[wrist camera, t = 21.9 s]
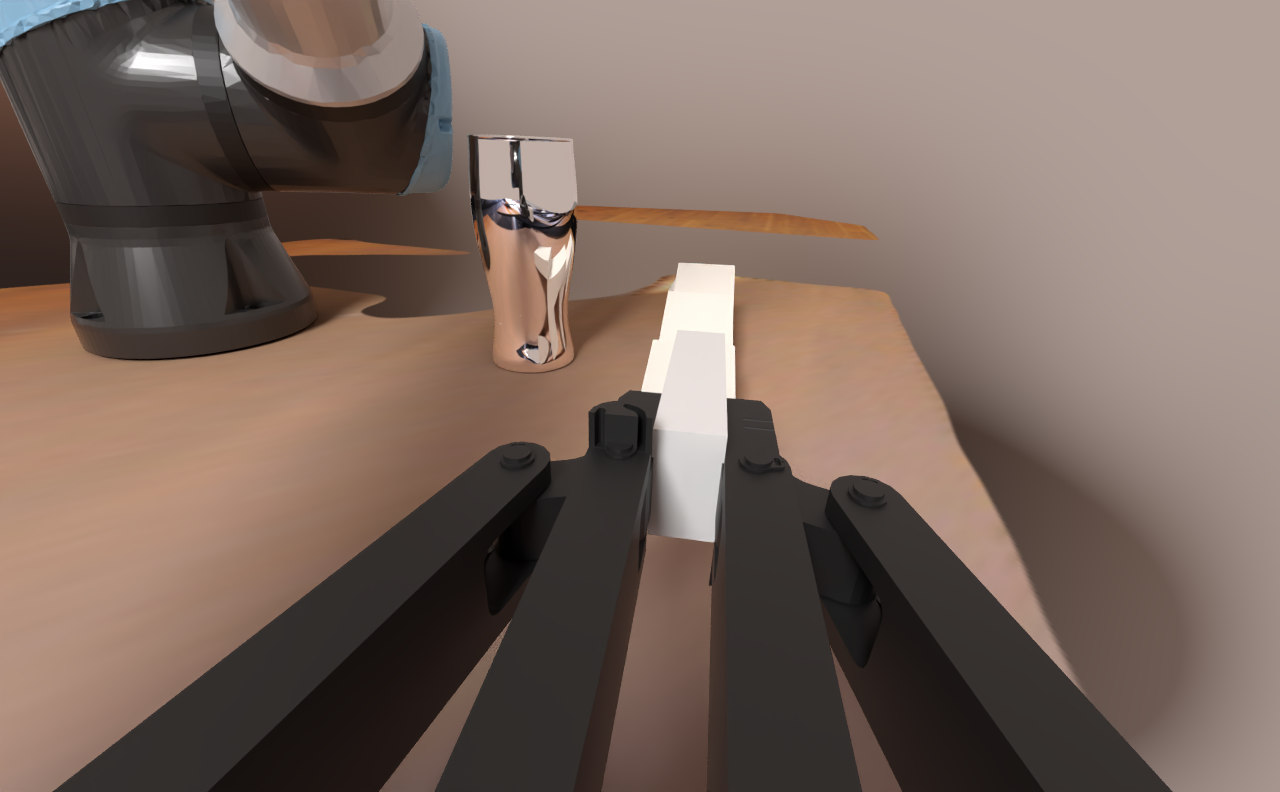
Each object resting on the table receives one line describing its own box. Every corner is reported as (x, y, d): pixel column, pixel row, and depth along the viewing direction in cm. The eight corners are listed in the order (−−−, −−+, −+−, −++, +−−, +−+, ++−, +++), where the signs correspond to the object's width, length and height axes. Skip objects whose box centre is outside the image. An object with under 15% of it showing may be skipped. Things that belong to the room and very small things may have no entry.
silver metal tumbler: (497, 341, 42) (478, 136, 35) (582, 342, 42) (579, 140, 35) (476, 375, 35) (448, 132, 29) (576, 376, 36) (571, 137, 29)
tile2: (732, 378, 32) (733, 295, 39) (652, 372, 32) (668, 290, 39) (729, 402, 33) (730, 317, 40) (652, 395, 33) (667, 312, 41)
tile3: (732, 339, 38) (734, 265, 45) (666, 335, 39) (678, 262, 46) (729, 359, 40) (732, 284, 47) (666, 354, 40) (678, 281, 47)
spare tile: (736, 461, 23) (734, 346, 31) (627, 450, 24) (653, 339, 31) (731, 491, 24) (731, 372, 32) (627, 480, 25) (652, 366, 33)
